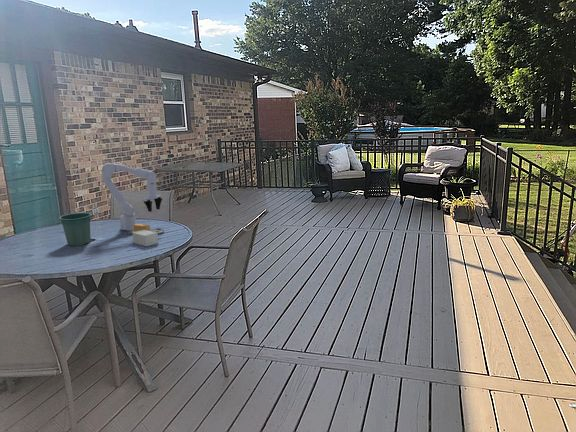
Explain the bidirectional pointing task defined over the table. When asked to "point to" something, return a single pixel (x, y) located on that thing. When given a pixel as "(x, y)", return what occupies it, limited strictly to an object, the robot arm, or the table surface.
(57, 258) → the table surface
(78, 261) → the table surface
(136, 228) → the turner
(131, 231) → the tool board
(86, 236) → the flower pot
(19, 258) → the table surface
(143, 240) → the small box
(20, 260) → the table surface
